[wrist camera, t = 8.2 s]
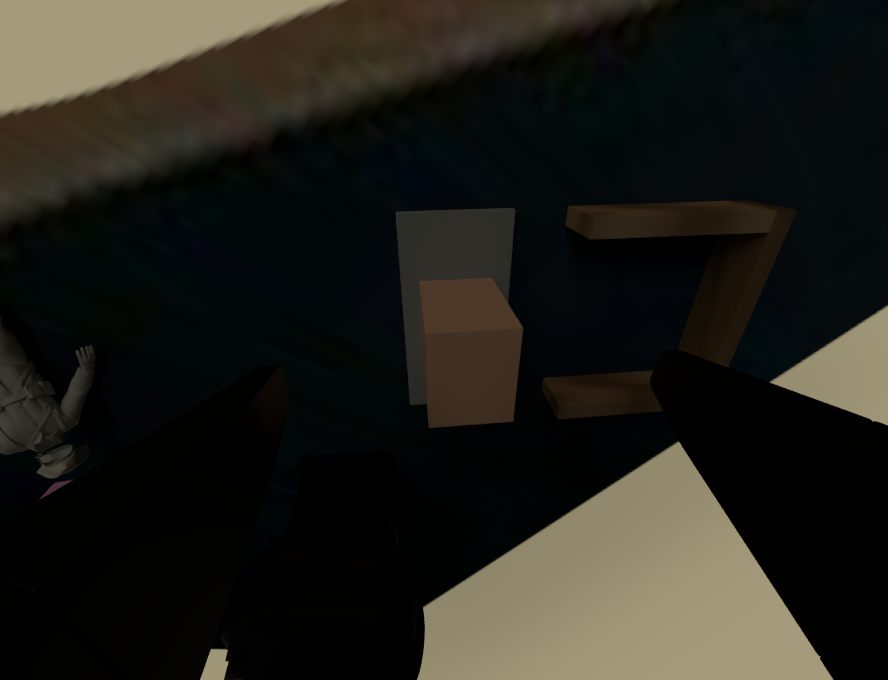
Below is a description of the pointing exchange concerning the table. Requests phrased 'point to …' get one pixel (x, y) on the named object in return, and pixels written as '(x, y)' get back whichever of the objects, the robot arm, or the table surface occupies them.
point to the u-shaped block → (716, 302)
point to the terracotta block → (469, 352)
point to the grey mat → (448, 264)
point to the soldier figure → (40, 407)
